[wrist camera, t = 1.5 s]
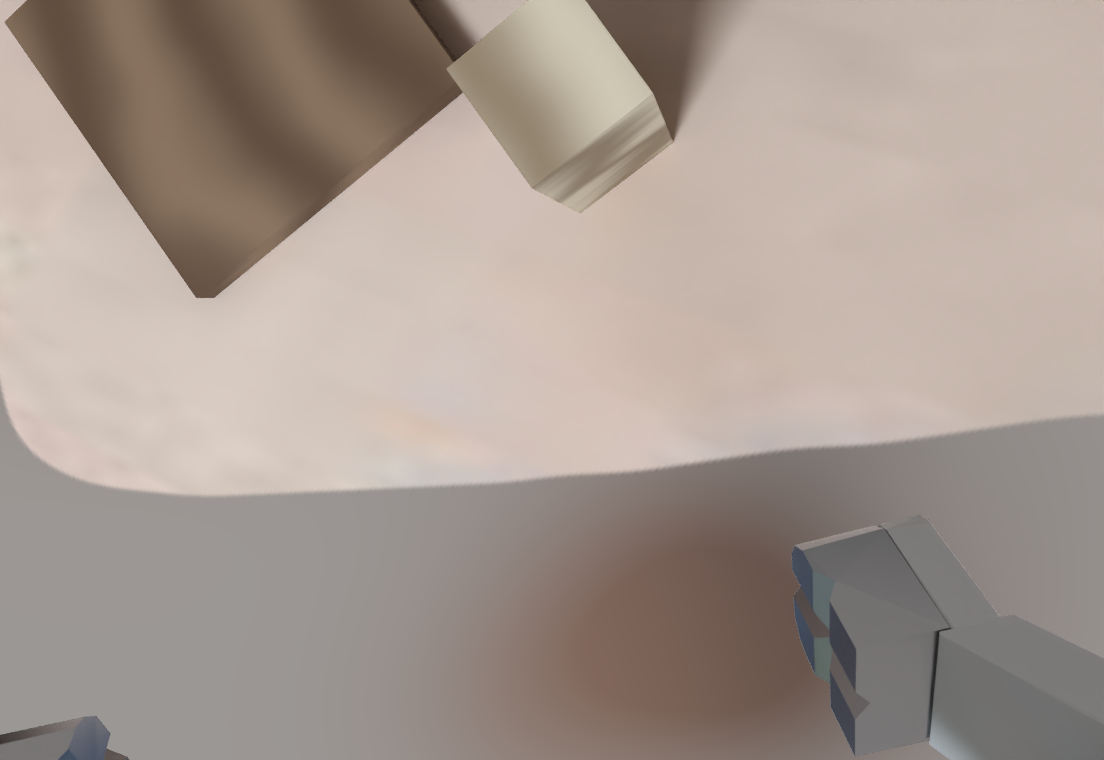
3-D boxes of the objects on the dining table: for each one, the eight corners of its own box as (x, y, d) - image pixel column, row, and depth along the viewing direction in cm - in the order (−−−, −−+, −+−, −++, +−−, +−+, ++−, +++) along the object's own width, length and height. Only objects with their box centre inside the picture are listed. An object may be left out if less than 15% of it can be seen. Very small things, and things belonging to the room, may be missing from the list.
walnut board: (268, -201, 42) (251, -218, 41) (472, 84, 42) (463, 76, 40) (27, 30, 46) (4, 22, 44) (213, 297, 45) (196, 297, 44)
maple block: (605, 49, 41) (563, -30, 31) (673, 142, 40) (653, 93, 31) (514, 122, 42) (446, 69, 32) (580, 213, 41) (531, 187, 32)
